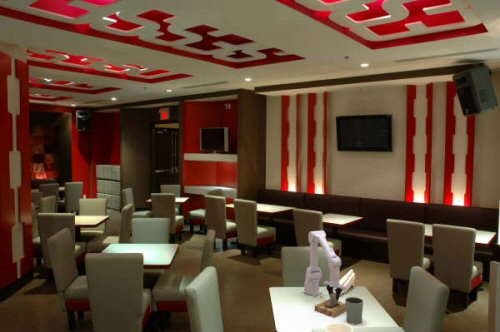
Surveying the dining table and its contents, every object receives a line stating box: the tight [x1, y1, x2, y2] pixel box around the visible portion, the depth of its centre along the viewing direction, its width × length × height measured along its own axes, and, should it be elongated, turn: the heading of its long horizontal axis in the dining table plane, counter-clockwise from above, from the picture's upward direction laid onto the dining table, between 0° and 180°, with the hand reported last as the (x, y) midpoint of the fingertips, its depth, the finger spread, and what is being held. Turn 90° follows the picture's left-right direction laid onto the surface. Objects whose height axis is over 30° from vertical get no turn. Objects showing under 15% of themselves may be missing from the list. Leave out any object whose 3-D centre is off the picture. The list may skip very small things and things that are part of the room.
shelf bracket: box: [334, 269, 356, 296], centre depth 283 cm, size 6×25×13 cm, turn 143°
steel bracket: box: [326, 291, 339, 308], centre depth 251 cm, size 4×8×6 cm, turn 135°
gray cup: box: [344, 296, 364, 325], centre depth 237 cm, size 10×10×12 cm
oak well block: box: [314, 298, 346, 318], centre depth 251 cm, size 14×16×3 cm
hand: (334, 298), depth 253 cm, fingers closed on steel bracket, 4 cm apart
